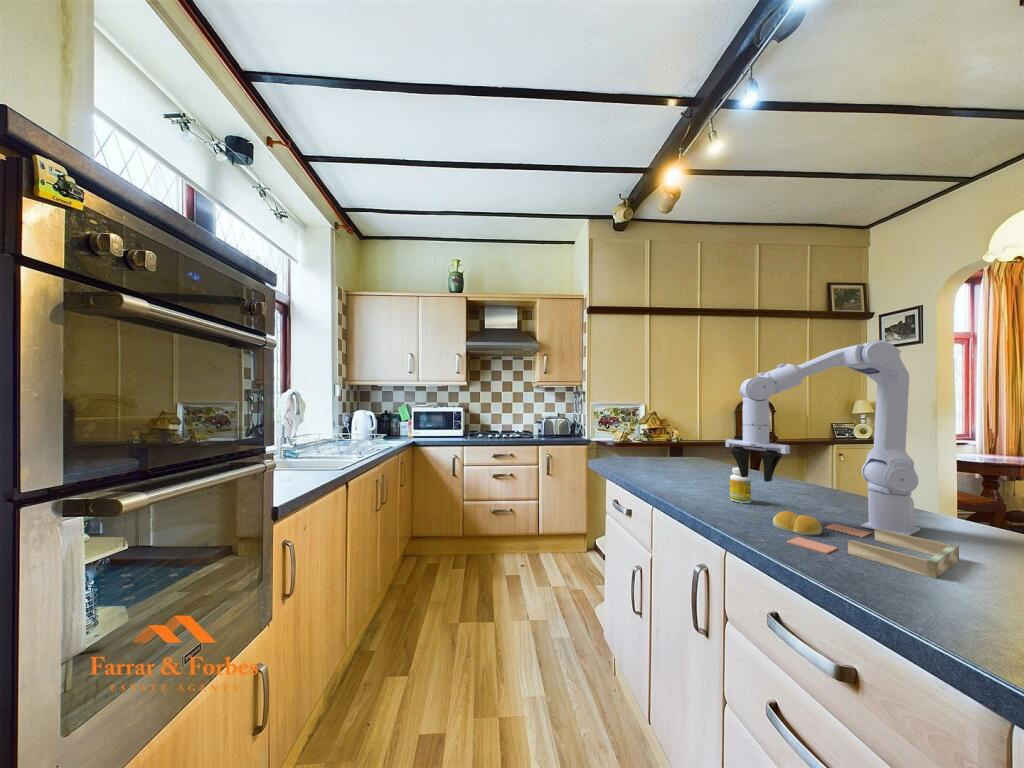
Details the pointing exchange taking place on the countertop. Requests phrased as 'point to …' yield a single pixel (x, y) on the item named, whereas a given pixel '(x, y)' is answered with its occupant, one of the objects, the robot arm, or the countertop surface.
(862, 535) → the mats
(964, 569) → the countertop surface
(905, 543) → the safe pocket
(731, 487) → the supplement bottle
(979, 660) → the countertop surface
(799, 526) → the bread roll
